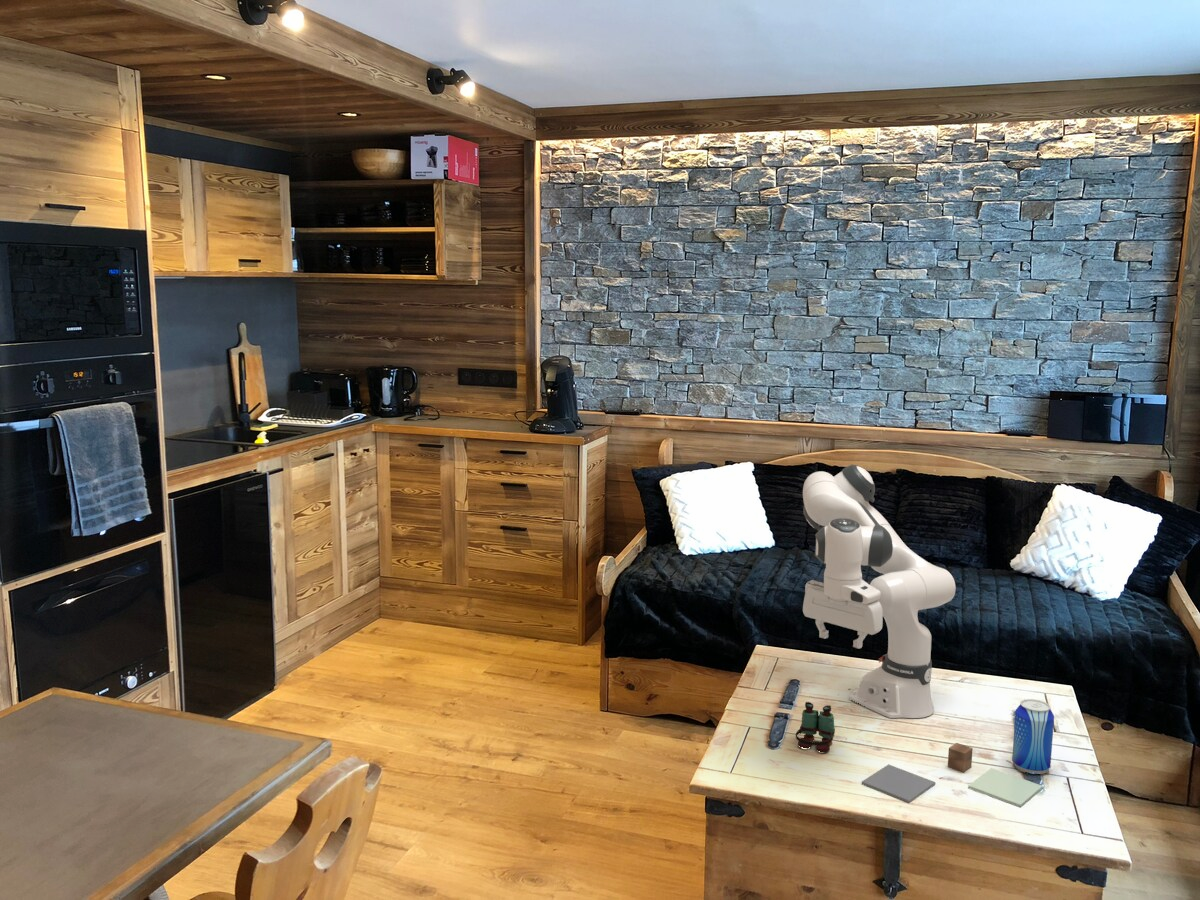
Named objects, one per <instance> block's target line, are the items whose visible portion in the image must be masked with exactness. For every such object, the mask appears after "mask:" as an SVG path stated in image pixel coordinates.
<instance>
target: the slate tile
mask: <svg viewBox="0 0 1200 900" xmlns="http://www.w3.org/2000/svg"><path fill="white" fill-rule="evenodd" d="M863 784H864V786H865V785H866V787H868V788H871V789H873V790H876V791H878V792H881V793H883V794H886V795H888V796H891V797H892V798H896V799H898V800H900V801H903V802H905V803H908V804H910V803H912V802H913V801H915V800H916V799H917V798H919V797H920V796H921V795H922V794H924V793H926V792H927V791H928V790H929V789H931V788H932V787H934V786H935V785H936V781H934V780H930V779H928V778H925V777H923V776H920V775H917V774H915V773H913V772H909V771H907V770H904V769H902V768H899V767H896V766H894V765H891V764H887V765H885V766H884V767H882V768H880V769H879V770H877V771H876V772H875V773H873V774H871V775H869V776H868V777H867V778H864V779H863V780H862V781H861V785H863Z"/></svg>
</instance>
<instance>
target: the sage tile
mask: <svg viewBox="0 0 1200 900" xmlns="http://www.w3.org/2000/svg"><path fill="white" fill-rule="evenodd" d="M967 787H968V789H970V790H973V791H976V792H978V793H981V794H983V795H987V796H989V797H992V798H994V799H997V800H1000V801H1003V802H1005V803H1007V804H1011V805H1013V806H1016V807H1018V808H1022V807H1023V806H1024V805H1025V804H1027V802H1029V800H1031V799H1033V797H1034V796H1036V795H1037V794H1038V793H1039V792H1040V791H1042V790H1043V787H1044V786H1043V785H1041V784H1038V783H1036V782H1032V781H1029V780H1027V779H1025V778H1021V777H1018V776H1015V775H1014V774H1010V773H1007V772H1004V771H1001V770H999V769H996V768H993V767H991V768H990V769H988V770H987V771H985V772H984V773H983V774H982V775H980V776H978V777H977V779H975V780H973V782H971V783H970V784H968V786H967Z"/></svg>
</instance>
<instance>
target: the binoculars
mask: <svg viewBox="0 0 1200 900" xmlns="http://www.w3.org/2000/svg"><path fill="white" fill-rule="evenodd" d="M804 708H805V709H803V710H802V713H801V725H800V726H799V729H798V730H797V731H796V733H795V739H796V741H798V743H797V746H798V745H799V746H800V747H803V748H809V747H811V748H812V746H815V748H816V751H817V750H818V751H820V752H826V753H828V752H829V751H830V749H831V748H830V745H833V740H834V738H835V733H836V728H835V720H834V719H835V718H834V714H833V713H831V711H832V706H831V705H828V704H827V705H823V707H822V710H820V711H819V710H817V709H814V704H813V703H812V702H810V701H805V703H804ZM817 733H818V736H819V737H821V739H820V740H821V741H815V735H817ZM802 734H803V737H799V736H798V735H802ZM813 740H814V741H813Z"/></svg>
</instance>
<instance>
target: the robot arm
mask: <svg viewBox="0 0 1200 900" xmlns="http://www.w3.org/2000/svg"><path fill="white" fill-rule="evenodd" d="M875 484H876V483H875V482H874V481H873V477H872V476H871V474H870V473H869V472H868V471H867V470H866V469H864V468H863V467H861V466H859V465H858V464H850V465H848V466H846V467H844V468H843V469H841V471H840V472H839V473H837V474H836V475H834V476H833V474H831V473H829V472H828V471H827V472H826V471H823V470H822V471H815V472H812V473H811V474H809V475H808V476H807V478H806V479H805V480H804V483H803V486H802V487H803V488H802V499H803V509H802V510H803V516H804V517H805V520H806V521H807V522H808V524H809V525H810V526H811V527H812V528H813V529H815V530H817V532H816V533H815V535H814V536H815V544H814V545H815V549H814V557H815V558H817V559H818V560H819V561H820V562H821V563H822V564H825V569H824V572H823V581H817V580H815V579H811V580H809V581H807V582H806V584H805V586H804V587H805V589H804V592H805V593H804V598H803V604H802V612H803V615H804V617H806V618H810V619H814V620H815V625H816V628H817V629H818V631H819V632H818V633H819V635H818V636H819V638H821V639H824V640H825V639H828V638H829V630H827V629H826V626H825V624H824V623H828V624H831V625H835V626H839V627H842V628H845V629H849V630H853V631H857V636H858V638H856V639H853V640H852V641H853V643H852V644H853V645H852V647H853V648H855V649H862V647H863V644H864V643H863V641H864V640H865V638H866V637H867V636H868V635H871V636H873V635H876V634H877V633H879V632H880V631H881V630H882V629H883V624H884V623H883V621H885V623H886V627H887V635H888V636H887V637H888V641H887V643H888V644H887V646H888V647H887V653H886V654H883V655H882V656H881V657H880V658H879V657H878V660H879V661H878V663H881V662H882V663H881V666H879V667H876V668H875V669H873V670H872V671H870V672H867V673H866V674H865V675H863V677H862V678H861V680H860V682H859V685H858V687H857V688H855V689H853V691H851V693H850V695H849V700H850V699H851V700H853V701H852V702H854V701H855V702H854V703H856V702H857V703H856V704H858V703H859V704H858V705H860V704H861V705H860V706H862V705H863V707H864V706H865V707H864V708H866V709H869V710H872V711H873V712H876V713H878V714H880V715H882V716H884V717H886V718H888V719H889V718H890V719H898V718H906V719H923V718H926V717H930V716H931V715H933V714H934V713H935V709H934V705H933V699H932V693H931V691H932V690H931V679H932V667H933V666H932V664H933V662H932V658H931V651H932V634H931V632H930V630H929V628H928V627H927V626H925V625H924V624H922V623H921V622H919V616H918V613H919V611H921V610H927V609H928V610H929V609H933V608H938V607H940V606H943V605H945V604H947V603H949V602H951V601H952V600H953V598H954V596H955V594H956V582H955V579H954V577H953V575H952V574H951V573H950V572H949V571H948V570H947V569H946V568H943V567H940V566H937V565H934V564H932V563H931V562H928V561H927V560H926V559H924V558H923V557H921V556H919V555H918V554H917V553H916V552H914V551H913V550H912V549H910V547H908V546H907V545H906V543H905V542H903V540H902V539H901V538H900V536H899V534H897V532H896V531H895V530H894V528H893V527H892V526H891V524H890V523H889V522H888V520H887V519H886V518H885V517H884V516H883V515H882V514H881V513H880V512H879V511H878V510H877V509H876V508H875V507H874V506H873V505H871V504H870V503H869V502H871V503H874V502H875V497H874V496H875V492H876V485H875ZM861 566H868V567H871V568H872V569H873V570H874V571H875V572H878V573H879V574H882V575H879V576H877V577H875V578H873V579H872V580H871V582H870V584H869V583H868V582H867V581H865V580H864V579H863V573H862V567H861ZM883 618H884V620H883ZM851 700H850V701H851Z"/></svg>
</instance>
